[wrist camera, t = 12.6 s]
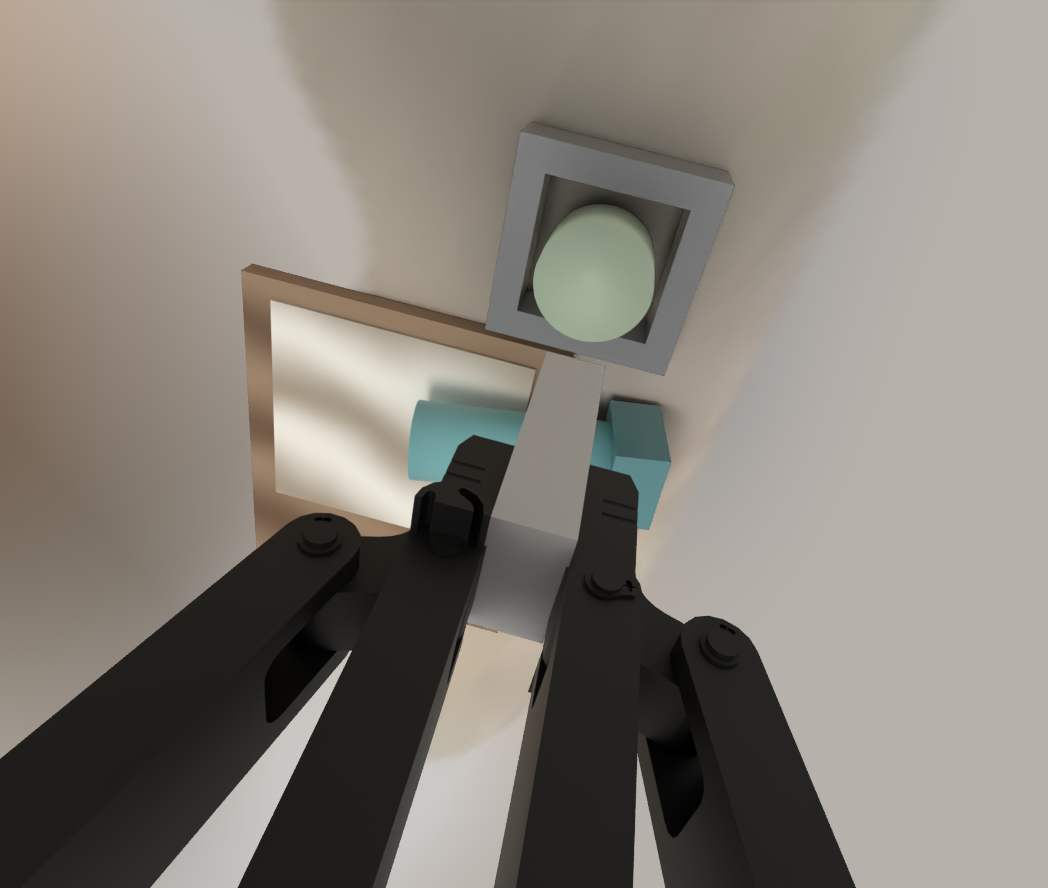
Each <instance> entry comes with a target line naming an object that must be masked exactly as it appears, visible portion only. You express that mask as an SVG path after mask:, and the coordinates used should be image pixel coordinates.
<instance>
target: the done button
mask: <svg viewBox="0 0 1048 888" xmlns="http://www.w3.org/2000/svg"><path fill="white" fill-rule="evenodd" d="M654 275H655V252H654V246H653V243H652V239H651V237H650V235H649V233H648V231H647V229H646V228H645V226H644V225H643V224H642V223H641V221H640V220H639V219H638V218H636V217H635V216H634V215H633V214H631V213H630V212H628V211H626V210H624V209H622V208H620V207H617V206H613V205H608V204H593V205H588V206H584V207H581V208H579V209H576V210H574V211H573V212H571V213H569V214H568V215H567V216H565V217H564V218H563V219H562V220H561V221H560V222H559V223H558V224H557V226H556V227H555V228H554V230H553V231H552V233H551V235H550V237H549V239H548V241H547V243H546V245H545V247H544V249H543V251H542V253H541V255H540V257H539V259H538V262H537V264H536V267H535V271H534V277H533V289H534V296H535V299H536V303H537V305H538V307H539V309H540V311H541V313H542V315H543V316H544V317H545V319H546V320H547V321H548V322H549V323H550V324H551V325H552V326H553V327H554V328H555V329H556V330H558V331H559V332H561V333H562V334H564V335H566V336H568V337H570V338H573V339H576V340H580V341H585V342H603V341H608V340H612V339H615V338H617V337H620V336H622V335H624V334H625V333H627V332H629V331H630V330H631V329H633V328H634V327H635V326H636V325H637V324H638V323H639V322H640V321H641V320H642V318H643V317H644V316H645V314H646V312H647V310H648V309H649V306H650V304H651V301H652V297H653V293H654Z"/></svg>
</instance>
